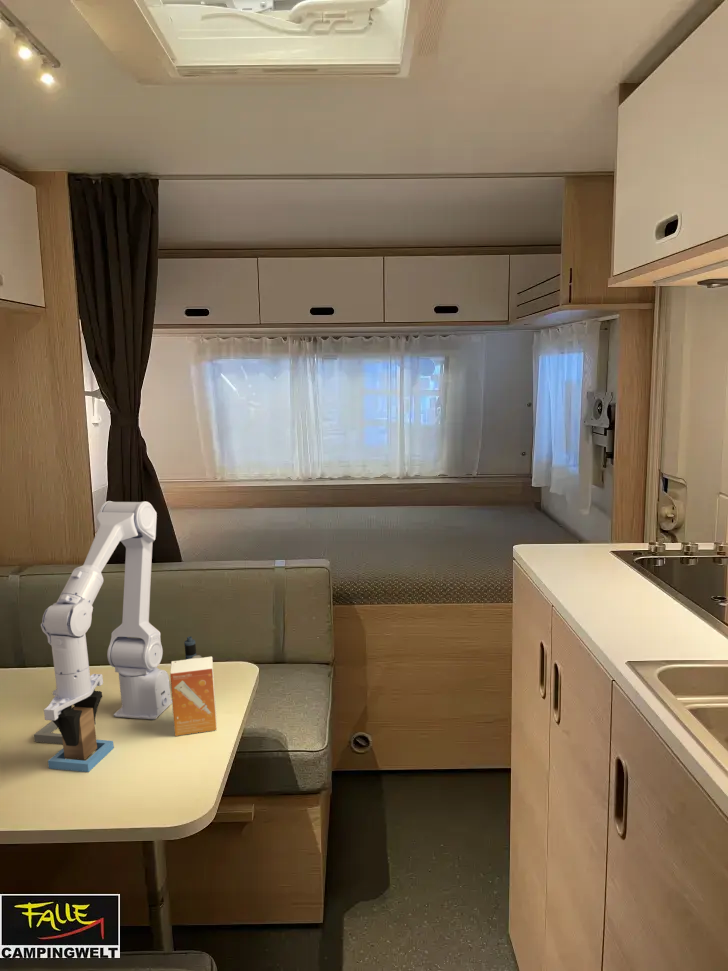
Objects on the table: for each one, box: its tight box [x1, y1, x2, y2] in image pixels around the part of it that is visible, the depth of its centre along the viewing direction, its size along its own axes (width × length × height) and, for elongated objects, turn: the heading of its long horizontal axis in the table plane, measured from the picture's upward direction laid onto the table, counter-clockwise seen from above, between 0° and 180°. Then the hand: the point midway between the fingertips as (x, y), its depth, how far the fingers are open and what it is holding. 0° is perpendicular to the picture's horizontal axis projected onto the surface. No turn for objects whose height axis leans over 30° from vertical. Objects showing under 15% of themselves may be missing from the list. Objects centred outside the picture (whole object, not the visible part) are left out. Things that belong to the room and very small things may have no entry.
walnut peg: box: [62, 706, 97, 761], centre depth 127 cm, size 4×4×8 cm
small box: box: [169, 656, 218, 737], centre depth 137 cm, size 8×6×13 cm
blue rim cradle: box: [47, 739, 115, 773], centre depth 128 cm, size 8×8×2 cm
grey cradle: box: [33, 720, 96, 745], centre depth 137 cm, size 8×8×2 cm
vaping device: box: [184, 636, 203, 660], centre depth 153 cm, size 3×5×12 cm, turn 45°
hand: (79, 738), depth 127 cm, fingers closed on walnut peg, 4 cm apart
